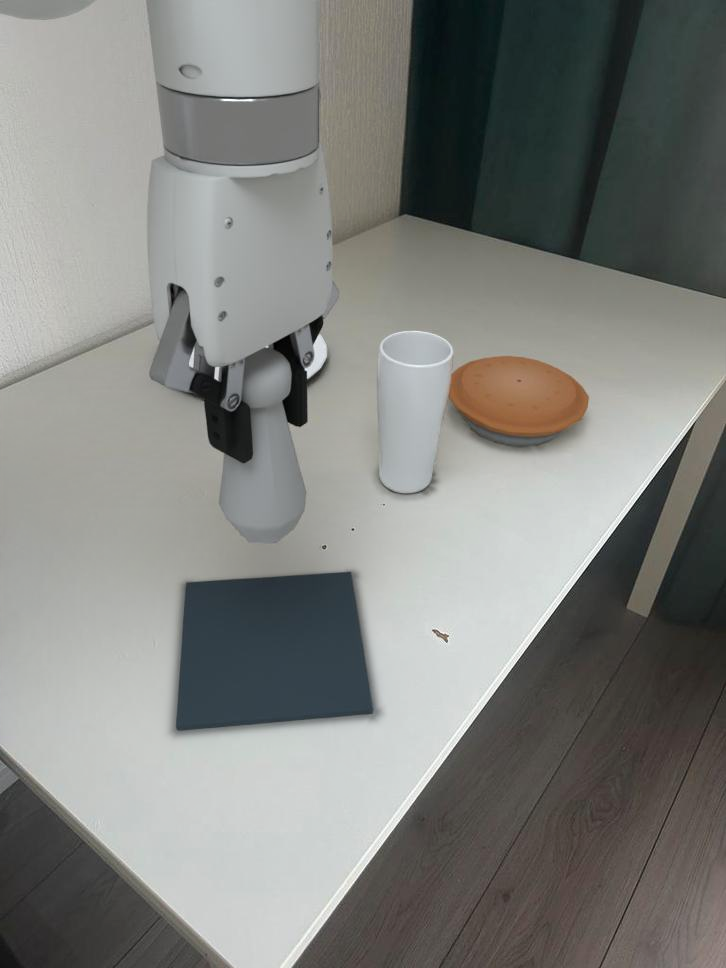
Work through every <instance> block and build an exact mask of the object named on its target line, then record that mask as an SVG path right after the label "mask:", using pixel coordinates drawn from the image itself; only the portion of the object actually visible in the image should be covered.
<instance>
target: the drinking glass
mask: <svg viewBox="0 0 726 968" xmlns="http://www.w3.org/2000/svg"><path fill="white" fill-rule="evenodd" d="M378 348H379V349H378V358H377V365H376V366H377V368H376V403H377V404H376V409H377V427H378V451H379V453H378V454H379V455H378V456H379V463H378V477H379V480H380V482H381V483H382V485H383V486H384V487H386V488H387V489H389V490H391V491H393V492H395V493H399V494H415V493H418V492H421V491H423V490H424V489H426V488H427V487H428V486H429V485H430V483H431V481H432V478H433V471H434V464H435V459H436V454H437V449H438V446H439V441H440V436H441V433H442V432H441V431H442V427H443V422H444V419H445V414H446V409H447V405H448V401H449V391H450V384H451V377H452V373H453V367H454V366H453V364H454V348H453V345H452V344H451V343H450V341H448V340H447V339H445V338H443V337H442V336H440V335H438V334H435V333H432V332H429V331H422V330H403V331H397V332H394V333H391V334H389V335H387V336H386V337H384V338H383V339H382V340H381V341H380V343H379V347H378Z"/></svg>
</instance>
